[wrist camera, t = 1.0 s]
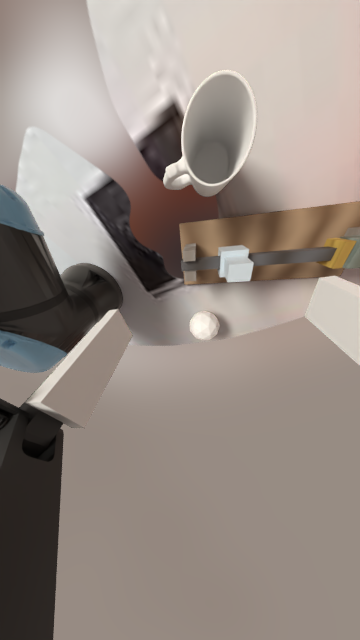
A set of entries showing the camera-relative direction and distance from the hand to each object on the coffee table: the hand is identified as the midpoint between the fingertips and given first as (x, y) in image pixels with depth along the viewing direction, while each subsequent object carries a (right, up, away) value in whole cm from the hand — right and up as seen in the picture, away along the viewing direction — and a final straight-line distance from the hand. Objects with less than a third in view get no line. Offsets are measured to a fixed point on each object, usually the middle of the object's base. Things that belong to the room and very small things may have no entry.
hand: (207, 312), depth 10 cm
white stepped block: (+7, +11, +15) cm, 20 cm away
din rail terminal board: (+15, +14, +18) cm, 27 cm away
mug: (+1, +23, +13) cm, 27 cm away
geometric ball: (+5, 0, +30) cm, 30 cm away
